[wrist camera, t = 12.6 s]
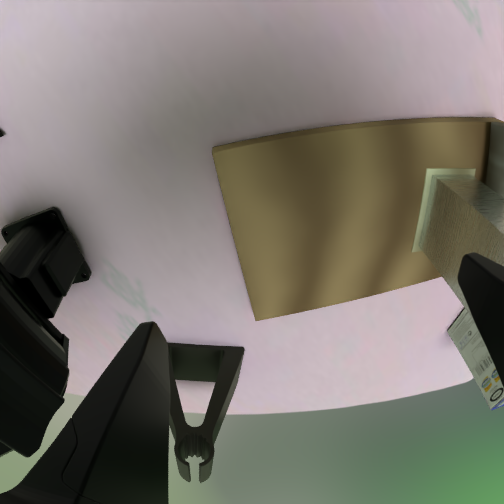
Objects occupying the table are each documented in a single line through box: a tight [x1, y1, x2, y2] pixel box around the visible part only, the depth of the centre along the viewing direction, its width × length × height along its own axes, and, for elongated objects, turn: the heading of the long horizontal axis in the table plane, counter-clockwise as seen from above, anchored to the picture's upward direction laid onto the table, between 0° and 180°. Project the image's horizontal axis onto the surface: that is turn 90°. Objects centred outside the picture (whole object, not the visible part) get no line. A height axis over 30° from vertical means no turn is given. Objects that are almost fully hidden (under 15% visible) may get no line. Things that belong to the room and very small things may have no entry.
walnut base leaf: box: [212, 117, 504, 321], centre depth 20 cm, size 22×14×4 cm, turn 101°
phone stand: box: [167, 342, 245, 483], centre depth 25 cm, size 9×6×12 cm, turn 81°
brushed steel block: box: [418, 174, 504, 319], centre depth 15 cm, size 5×6×13 cm
